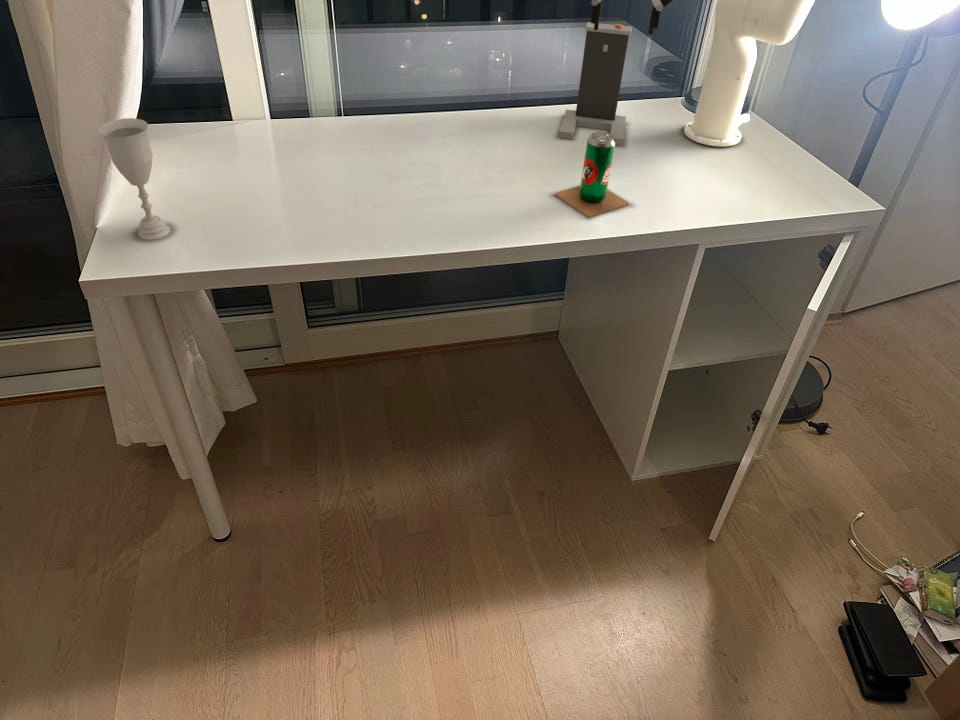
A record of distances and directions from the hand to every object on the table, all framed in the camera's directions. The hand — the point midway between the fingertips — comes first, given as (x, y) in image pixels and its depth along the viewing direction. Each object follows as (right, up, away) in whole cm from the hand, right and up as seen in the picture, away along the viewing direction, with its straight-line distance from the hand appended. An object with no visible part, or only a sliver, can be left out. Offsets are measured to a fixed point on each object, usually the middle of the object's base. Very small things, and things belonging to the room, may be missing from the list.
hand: (623, 30), depth 126 cm
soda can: (-4, -28, +8) cm, 30 cm away
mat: (-4, -29, +8) cm, 30 cm away
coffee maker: (0, -7, +34) cm, 35 cm away
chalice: (-80, -38, -7) cm, 89 cm away
